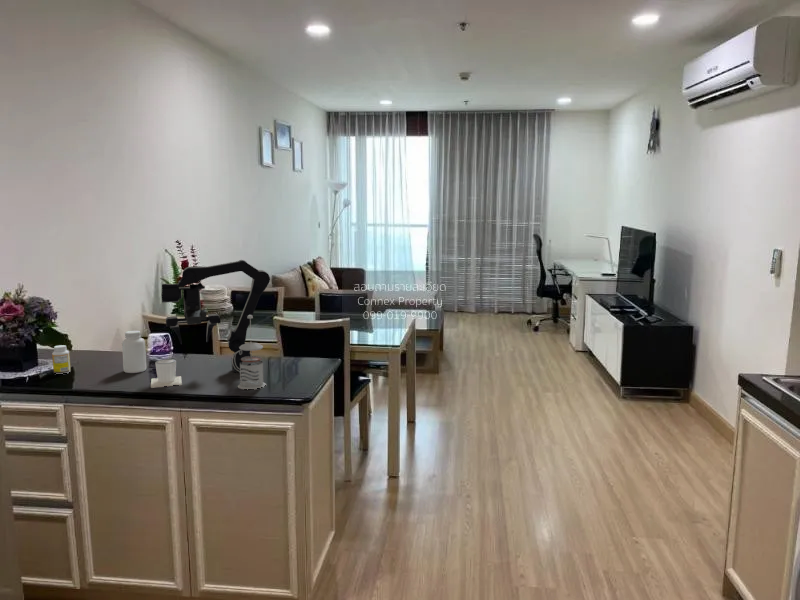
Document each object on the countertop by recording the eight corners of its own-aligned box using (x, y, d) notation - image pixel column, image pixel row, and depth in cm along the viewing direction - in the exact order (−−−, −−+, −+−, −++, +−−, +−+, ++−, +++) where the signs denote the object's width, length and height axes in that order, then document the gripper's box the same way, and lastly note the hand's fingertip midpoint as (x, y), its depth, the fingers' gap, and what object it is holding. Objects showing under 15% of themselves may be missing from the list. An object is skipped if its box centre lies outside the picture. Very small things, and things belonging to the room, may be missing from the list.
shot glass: (181, 379, 215) (180, 360, 214) (166, 384, 208) (165, 364, 207) (166, 377, 217) (165, 358, 216) (151, 381, 211) (150, 362, 210)
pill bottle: (118, 372, 226) (116, 332, 224) (135, 367, 234) (133, 329, 231) (134, 374, 223) (132, 334, 221) (151, 369, 231) (149, 330, 228)
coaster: (181, 377, 219) (181, 375, 219) (181, 385, 210) (181, 383, 210) (151, 380, 216) (151, 378, 216) (150, 387, 207) (150, 385, 206)
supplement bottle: (59, 371, 227) (57, 344, 226) (73, 371, 227) (72, 344, 225) (50, 374, 222) (48, 347, 220) (64, 375, 221) (62, 348, 220)
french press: (259, 390, 205) (257, 317, 201) (227, 388, 207) (225, 316, 203) (270, 382, 214) (269, 313, 211) (240, 380, 216) (238, 311, 213)
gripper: (165, 306, 211) (167, 349, 213) (220, 302, 218) (222, 345, 220) (164, 301, 221) (167, 343, 223) (217, 298, 228) (219, 339, 230)
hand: (194, 342), depth 224 cm, fingers open, 9 cm apart
